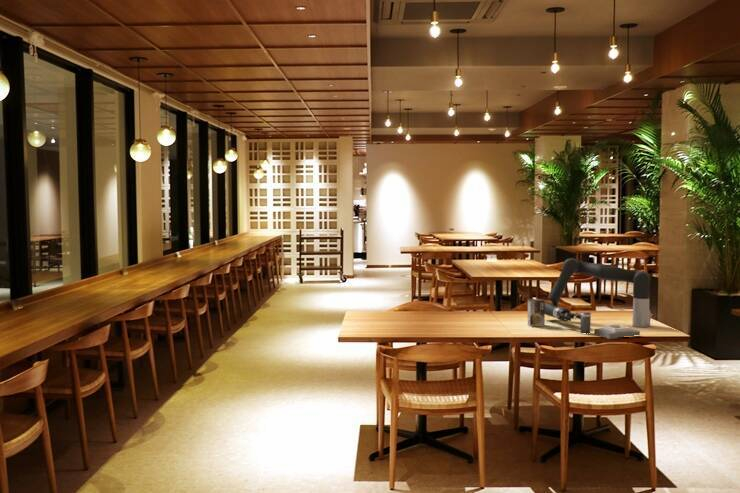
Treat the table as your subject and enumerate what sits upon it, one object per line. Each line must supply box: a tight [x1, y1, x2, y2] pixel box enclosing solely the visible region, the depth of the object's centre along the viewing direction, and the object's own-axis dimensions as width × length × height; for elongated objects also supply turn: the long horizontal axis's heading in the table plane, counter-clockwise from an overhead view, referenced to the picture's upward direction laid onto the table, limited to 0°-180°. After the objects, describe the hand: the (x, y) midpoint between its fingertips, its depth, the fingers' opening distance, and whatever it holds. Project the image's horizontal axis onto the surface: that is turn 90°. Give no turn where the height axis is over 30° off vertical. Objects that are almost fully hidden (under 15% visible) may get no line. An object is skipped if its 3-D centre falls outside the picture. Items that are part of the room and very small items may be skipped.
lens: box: [579, 311, 592, 335], centre depth 401 cm, size 6×6×12 cm
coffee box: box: [527, 298, 546, 327], centre depth 423 cm, size 9×6×16 cm
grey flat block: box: [593, 323, 641, 340], centre depth 396 cm, size 20×14×5 cm
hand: (576, 318), depth 409 cm, fingers open, 8 cm apart
